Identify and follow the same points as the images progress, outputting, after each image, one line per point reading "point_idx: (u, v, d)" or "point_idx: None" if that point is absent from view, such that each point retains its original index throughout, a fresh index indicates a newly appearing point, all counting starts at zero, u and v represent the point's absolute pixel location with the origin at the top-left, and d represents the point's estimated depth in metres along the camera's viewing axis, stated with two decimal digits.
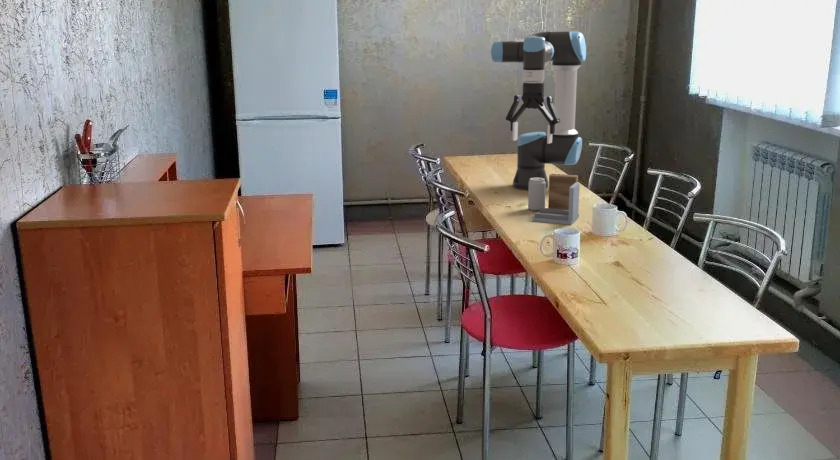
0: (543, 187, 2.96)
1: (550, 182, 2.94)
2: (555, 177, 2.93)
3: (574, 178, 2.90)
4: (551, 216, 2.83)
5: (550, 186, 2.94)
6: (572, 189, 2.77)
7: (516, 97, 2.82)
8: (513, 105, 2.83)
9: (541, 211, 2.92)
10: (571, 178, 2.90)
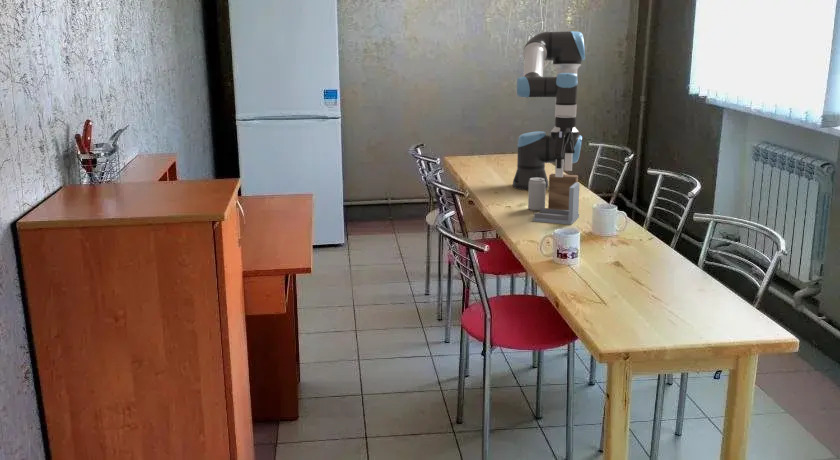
0: (543, 187, 2.96)
1: (550, 182, 2.94)
2: (555, 177, 2.93)
3: (574, 178, 2.90)
4: (551, 216, 2.83)
5: (550, 186, 2.94)
6: (572, 189, 2.77)
7: None
8: None
9: (541, 211, 2.92)
10: (571, 178, 2.90)
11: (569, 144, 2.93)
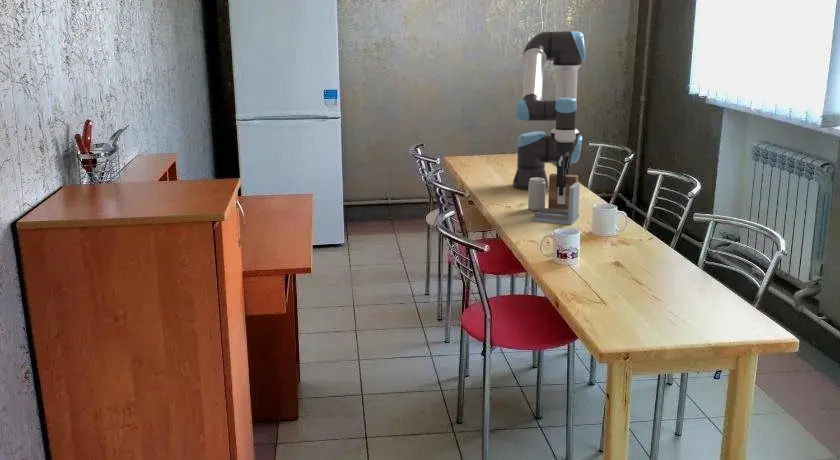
0: (543, 187, 2.96)
1: (550, 182, 2.94)
2: (555, 177, 2.93)
3: (574, 178, 2.90)
4: (551, 216, 2.83)
5: (550, 186, 2.94)
6: (572, 189, 2.77)
7: None
8: None
9: (541, 211, 2.92)
10: (571, 178, 2.90)
11: (566, 171, 2.94)
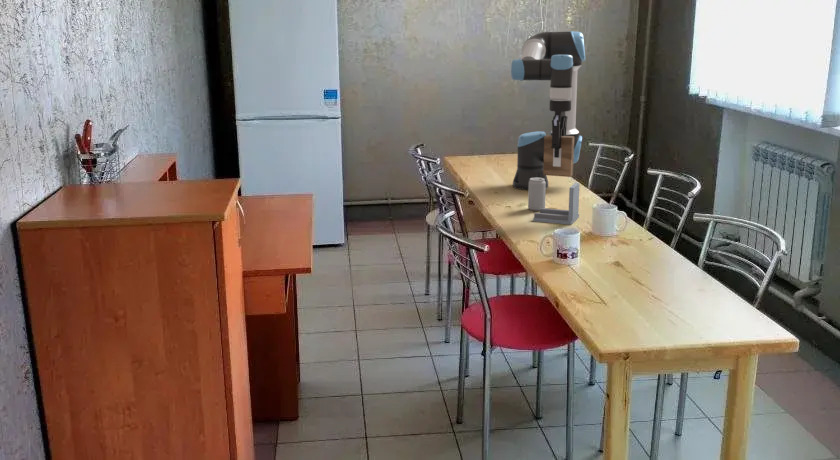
0: (543, 187, 2.96)
1: (545, 143, 2.82)
2: (550, 138, 2.81)
3: (570, 139, 2.78)
4: (551, 216, 2.83)
5: (545, 148, 2.82)
6: (572, 189, 2.77)
7: None
8: None
9: (541, 211, 2.92)
10: (567, 139, 2.78)
11: (562, 132, 2.82)
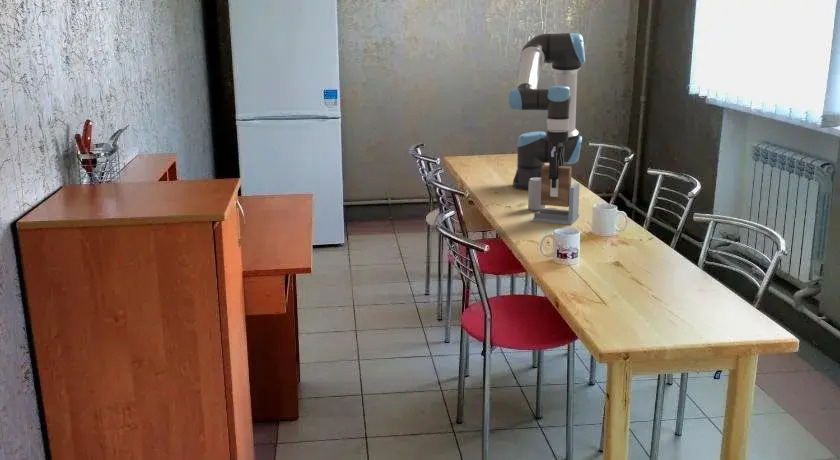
0: None
1: (542, 174, 2.83)
2: (548, 168, 2.82)
3: (567, 169, 2.79)
4: (551, 216, 2.83)
5: (543, 178, 2.83)
6: (572, 189, 2.77)
7: None
8: None
9: (541, 211, 2.92)
10: (564, 169, 2.79)
11: (559, 162, 2.83)
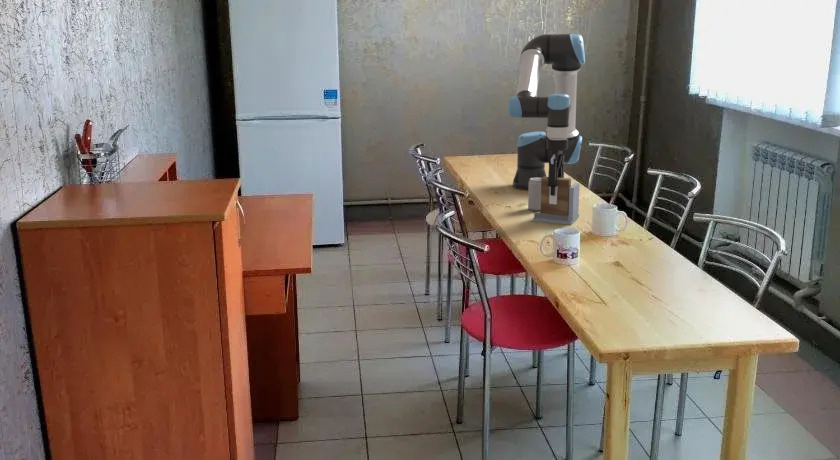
0: None
1: (542, 185, 2.84)
2: (547, 180, 2.83)
3: (567, 181, 2.80)
4: (551, 216, 2.83)
5: (542, 189, 2.85)
6: (572, 189, 2.77)
7: None
8: None
9: None
10: (564, 181, 2.80)
11: (560, 169, 2.84)
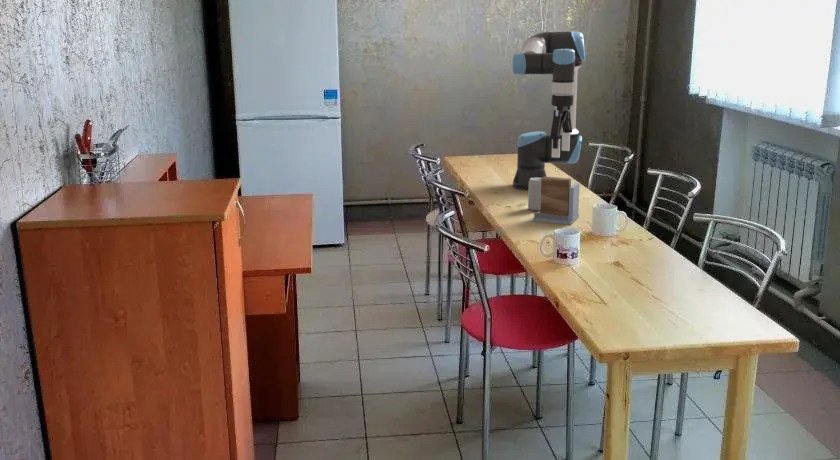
0: None
1: (542, 185, 2.84)
2: (547, 180, 2.83)
3: (567, 181, 2.80)
4: (551, 216, 2.83)
5: (542, 189, 2.85)
6: (572, 189, 2.77)
7: None
8: None
9: None
10: (564, 181, 2.80)
11: (566, 123, 2.83)
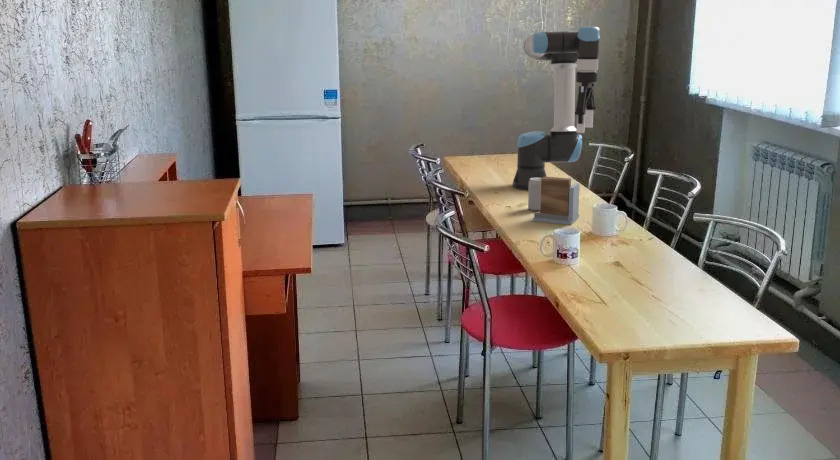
0: None
1: (542, 185, 2.84)
2: (547, 180, 2.83)
3: (567, 181, 2.80)
4: (551, 216, 2.83)
5: (542, 189, 2.85)
6: (572, 189, 2.77)
7: None
8: None
9: None
10: (564, 181, 2.80)
11: (590, 100, 2.89)
